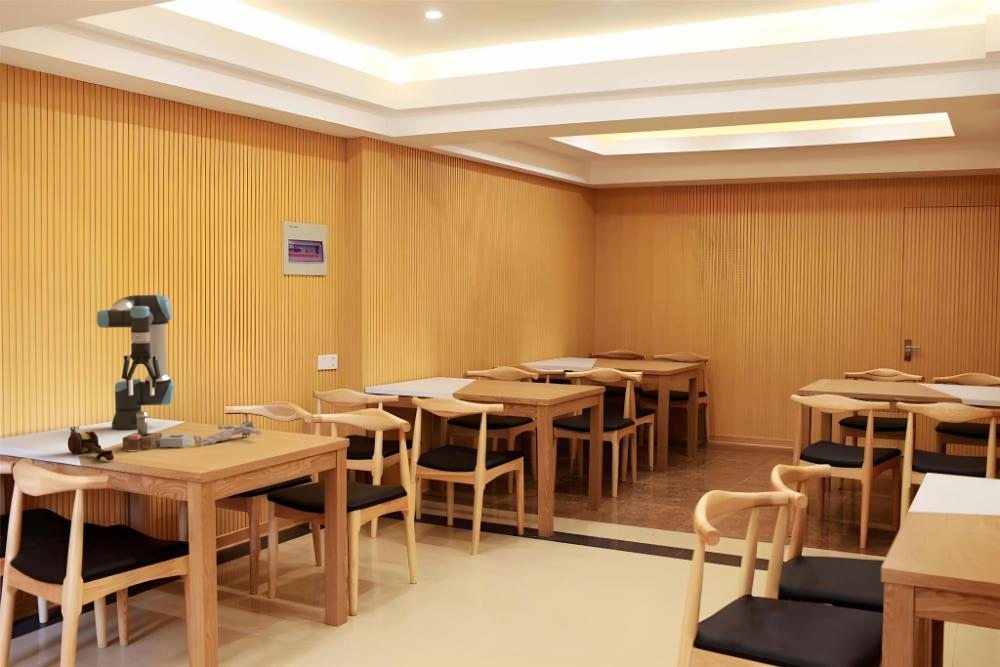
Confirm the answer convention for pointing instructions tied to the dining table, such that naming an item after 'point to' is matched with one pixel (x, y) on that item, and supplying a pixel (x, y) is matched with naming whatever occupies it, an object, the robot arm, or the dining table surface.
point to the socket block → (142, 442)
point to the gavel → (87, 444)
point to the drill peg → (142, 423)
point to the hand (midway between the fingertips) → (141, 395)
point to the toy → (228, 433)
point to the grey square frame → (175, 441)
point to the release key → (135, 437)
